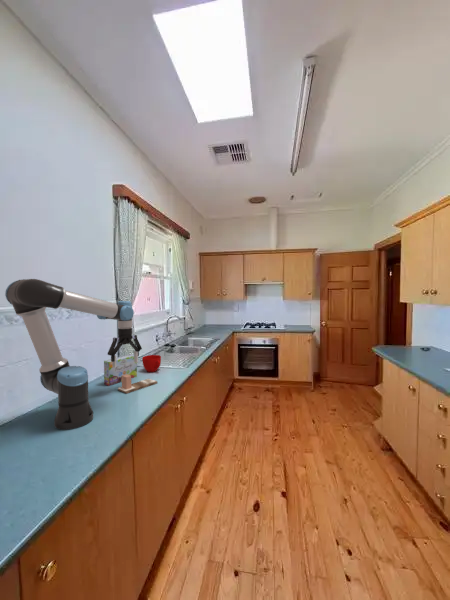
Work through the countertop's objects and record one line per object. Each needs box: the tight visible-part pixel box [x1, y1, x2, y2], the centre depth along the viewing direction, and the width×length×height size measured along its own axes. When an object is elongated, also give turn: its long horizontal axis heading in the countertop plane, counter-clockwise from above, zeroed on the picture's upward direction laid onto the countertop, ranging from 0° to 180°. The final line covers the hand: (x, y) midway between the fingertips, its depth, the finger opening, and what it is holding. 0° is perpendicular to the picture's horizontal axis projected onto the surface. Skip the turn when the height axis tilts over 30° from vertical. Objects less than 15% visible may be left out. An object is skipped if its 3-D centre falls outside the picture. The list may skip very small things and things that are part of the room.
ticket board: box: [117, 378, 158, 395], centre depth 163 cm, size 21×9×2 cm, turn 141°
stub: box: [117, 374, 135, 392], centre depth 157 cm, size 6×8×7 cm
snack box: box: [103, 353, 138, 387], centre depth 174 cm, size 21×6×15 cm, turn 148°
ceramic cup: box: [141, 354, 162, 373], centre depth 193 cm, size 13×17×10 cm
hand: (125, 364), depth 156 cm, fingers open, 13 cm apart
